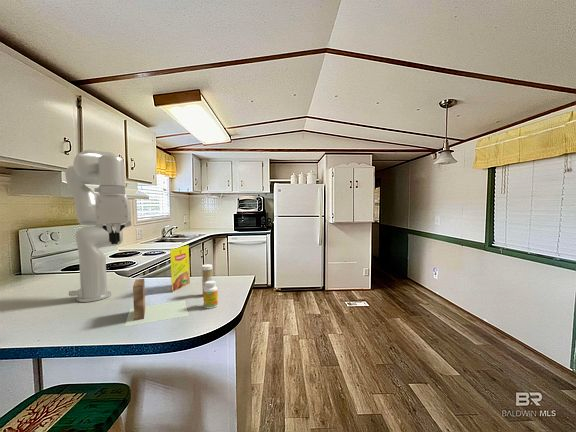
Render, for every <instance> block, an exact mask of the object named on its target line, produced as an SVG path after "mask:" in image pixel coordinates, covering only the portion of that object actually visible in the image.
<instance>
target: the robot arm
mask: <svg viewBox="0 0 576 432" xmlns="http://www.w3.org/2000/svg"><path fill="white" fill-rule="evenodd" d="M64 173H65V182H66V184H67V187H68V188H69V190H70V192H71V195H72V196H73V198H74V205H75V213H76V219H77V222H78V223H79V224H80V225H82V226H85V227H81V228H78V230H77V231H76V233H75V241H76V242H75V243H76V245H77V251H78V260H79V261H78V262H79V263H78V264H79V281H80V283H79V284H80V289H79V288H78V290H70V291H68V296H70V297H75V296H77V297H76V301H77V302H79V303H88V302H89V303H90V302H97V301H100V300H104V299H107V298H109V297H110V296H111V295H112V292H111V291H110V290H108V284H107V282H108V281H107V279H108V278H107V264H106V263H107V259H106V255H105V254H104V253H103V252H102V251H100V249H99V248H105V247H106V248H107V247H115V246H119V245H121V244H123V242H124V241H123V240H124V234H123V230H124V228H128V227H132V221H131V210H130V209H131V208H130V201H129V198H128V195H127V194H126V183H125V162H124V159H123V157H121V156H118V155H116V154H115V153H113V152H111V151H103V150H102V151H100V150H92V149H86V150H82V151H81V152H79V153H78V154H76V155H75V156H74V158H73V165H71V166H68V167H66V169H65V172H64ZM87 185H91V186H92V185H95V186H98V187H94V189H93V190H92V188H90V187H89V186H87ZM96 193H98V194H99V195H98V194H96Z"/></svg>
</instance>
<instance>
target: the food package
mask: <svg viewBox="0 0 576 432" xmlns="http://www.w3.org/2000/svg"><path fill="white" fill-rule="evenodd" d="M189 249H190V245H189V244H186V245H183V246H179V247H175V248H171V249H169V250H170V276H171V277H170V279H171V280H170V281H171V282H170V283H171V293H174V292H176V291H178V290H179V289H181V288H184V287H185V286H188V285H189V284H191V280H190V279H191V278H190V277H191V276H190V273H191V271H190V250H189ZM175 290H176V291H175ZM173 291H174V292H173Z"/></svg>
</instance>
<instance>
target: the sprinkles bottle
mask: <svg viewBox="0 0 576 432" xmlns="http://www.w3.org/2000/svg"><path fill="white" fill-rule="evenodd" d="M201 271H202V274H201V275H202V279H201V280H202V285H201V286H202V296H203V297H204V288H205V287H206V286H205V282H207V281H213V265H212V264H210V263H209V264H208V263H207V264H202V265H201Z"/></svg>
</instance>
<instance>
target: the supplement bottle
mask: <svg viewBox="0 0 576 432" xmlns="http://www.w3.org/2000/svg"><path fill="white" fill-rule="evenodd" d="M216 283H217V282H216V281H215V280H212V281H207V282H205V286H206V287H205V288H204V296H203V308H205V309H213V308H216V307H218V305H219V297H218V296H219V294H218V293H219V292H218V291H219V290H218V286H216Z"/></svg>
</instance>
